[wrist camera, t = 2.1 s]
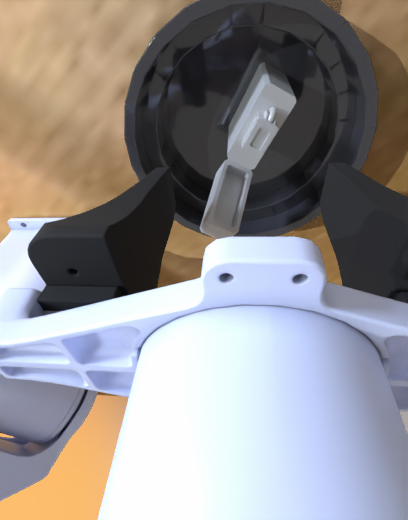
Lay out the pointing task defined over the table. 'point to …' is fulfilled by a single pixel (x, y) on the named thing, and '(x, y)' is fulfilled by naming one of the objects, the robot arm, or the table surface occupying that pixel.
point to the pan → (231, 94)
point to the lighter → (247, 148)
